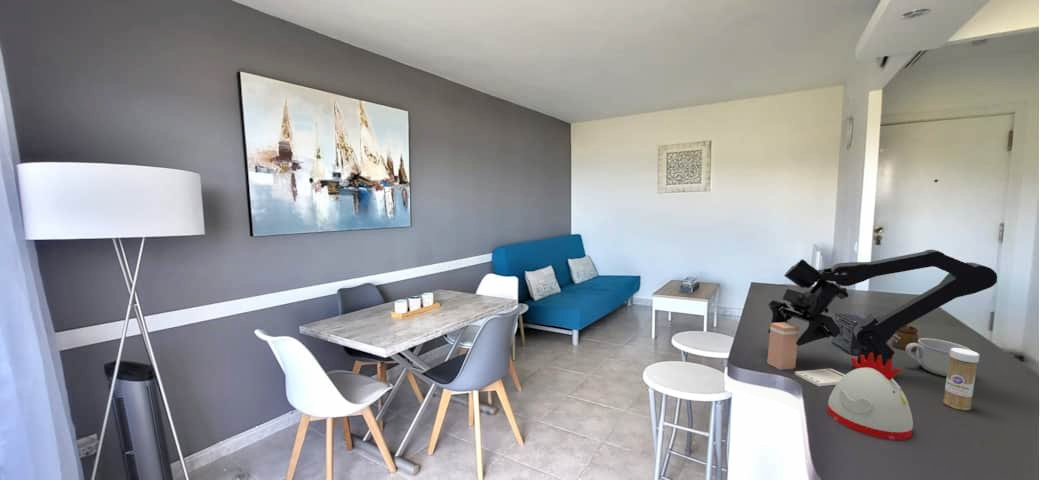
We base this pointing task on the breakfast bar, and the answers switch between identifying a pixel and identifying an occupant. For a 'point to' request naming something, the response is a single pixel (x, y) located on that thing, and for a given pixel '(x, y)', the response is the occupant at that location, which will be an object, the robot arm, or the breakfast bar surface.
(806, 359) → the breakfast bar surface
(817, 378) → the ticket strip
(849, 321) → the small box
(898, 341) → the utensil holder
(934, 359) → the teacup
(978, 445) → the breakfast bar surface
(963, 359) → the sprinkles bottle
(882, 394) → the kitchen timer
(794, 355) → the carton
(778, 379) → the breakfast bar surface
